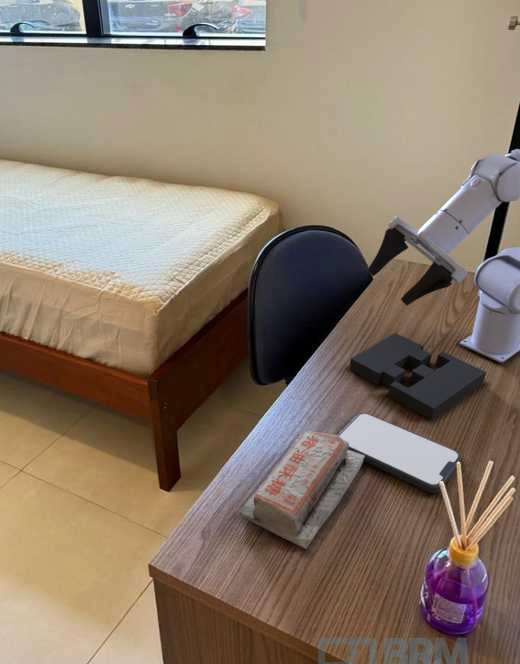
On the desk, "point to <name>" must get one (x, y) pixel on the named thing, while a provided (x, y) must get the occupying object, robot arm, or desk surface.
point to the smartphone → (401, 452)
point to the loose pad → (389, 360)
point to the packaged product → (304, 487)
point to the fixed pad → (438, 386)
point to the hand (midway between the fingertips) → (386, 287)
